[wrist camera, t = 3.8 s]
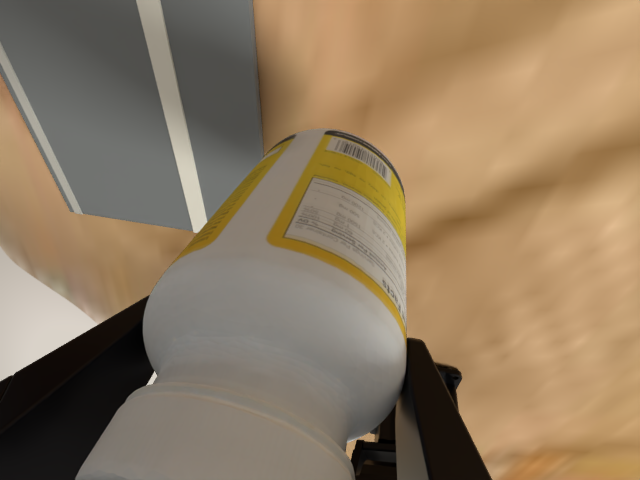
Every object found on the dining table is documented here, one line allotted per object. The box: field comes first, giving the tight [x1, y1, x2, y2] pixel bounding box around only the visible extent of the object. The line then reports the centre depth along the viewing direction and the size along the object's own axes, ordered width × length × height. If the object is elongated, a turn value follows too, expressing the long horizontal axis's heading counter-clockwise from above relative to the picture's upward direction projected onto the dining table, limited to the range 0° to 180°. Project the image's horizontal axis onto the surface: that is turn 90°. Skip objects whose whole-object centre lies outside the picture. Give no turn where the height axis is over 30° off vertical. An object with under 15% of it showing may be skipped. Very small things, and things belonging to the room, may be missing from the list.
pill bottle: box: [75, 128, 407, 480], centre depth 10 cm, size 6×6×12 cm
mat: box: [0, 0, 264, 233], centre depth 20 cm, size 16×14×1 cm
